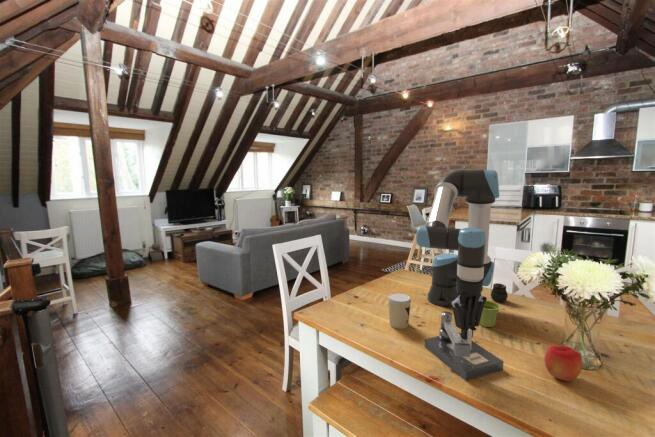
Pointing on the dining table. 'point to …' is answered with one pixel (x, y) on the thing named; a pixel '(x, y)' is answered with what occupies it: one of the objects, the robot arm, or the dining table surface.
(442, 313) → the grey bar
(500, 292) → the mate gourd
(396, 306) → the coffee cup
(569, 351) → the apple
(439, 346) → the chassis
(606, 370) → the dining table surface
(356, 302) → the dining table surface
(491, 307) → the plant pot
